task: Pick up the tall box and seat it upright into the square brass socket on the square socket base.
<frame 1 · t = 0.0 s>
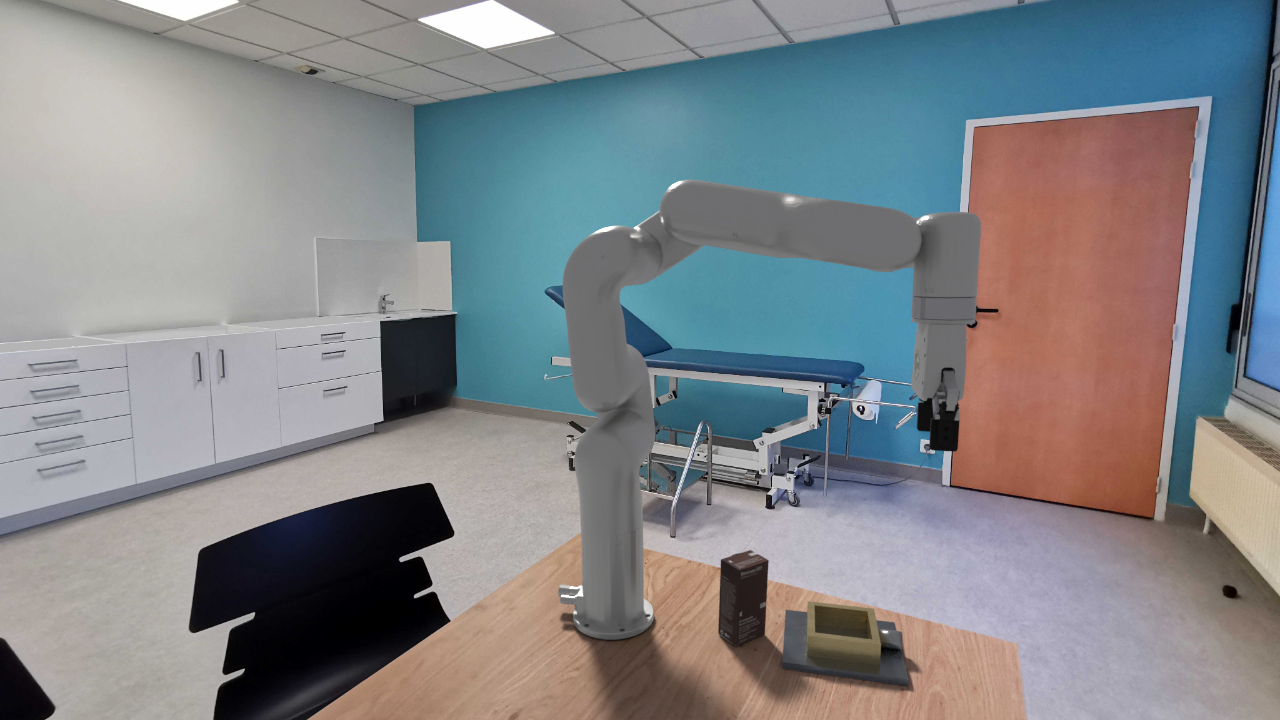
hand: (935, 440, 86), 31 cm above the table, tool pointing down, fingers open, 9 cm apart
square socket base: (841, 647, 94), on the table
box: (742, 636, 97), on the table
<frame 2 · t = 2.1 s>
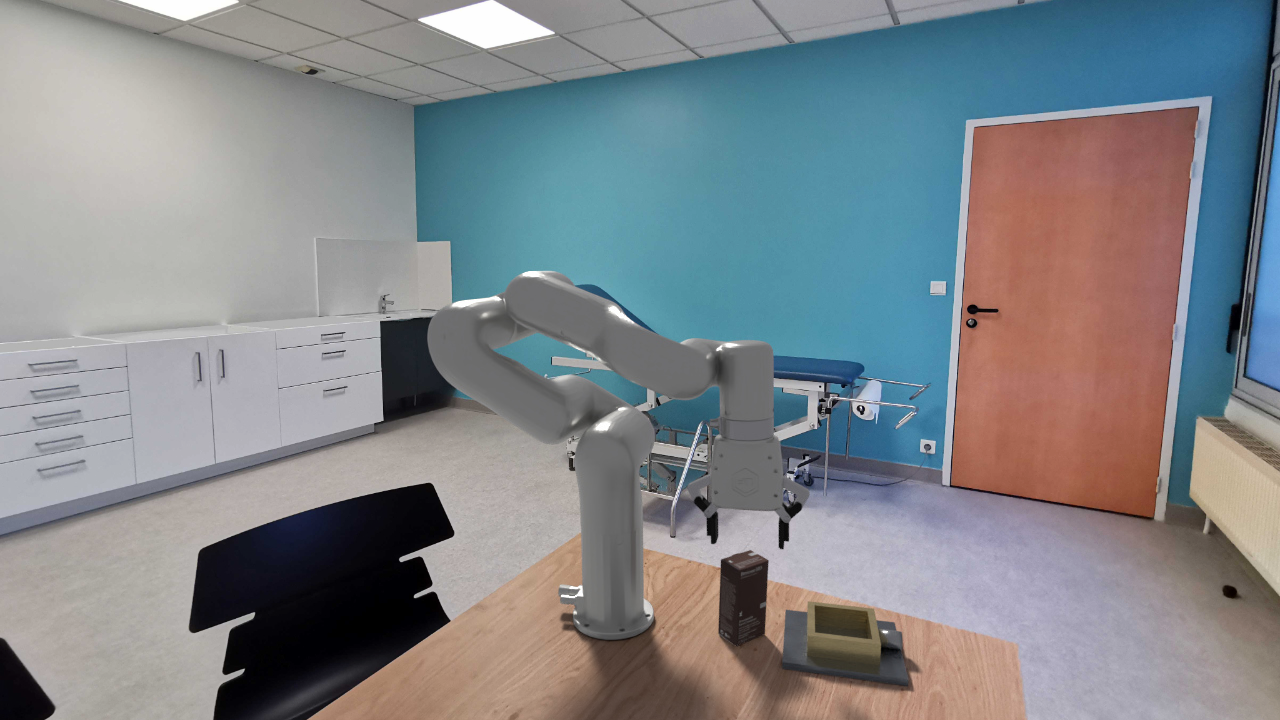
hand: (747, 542, 95), 14 cm above the table, tool pointing down, fingers open, 9 cm apart
nothing on the table moved.
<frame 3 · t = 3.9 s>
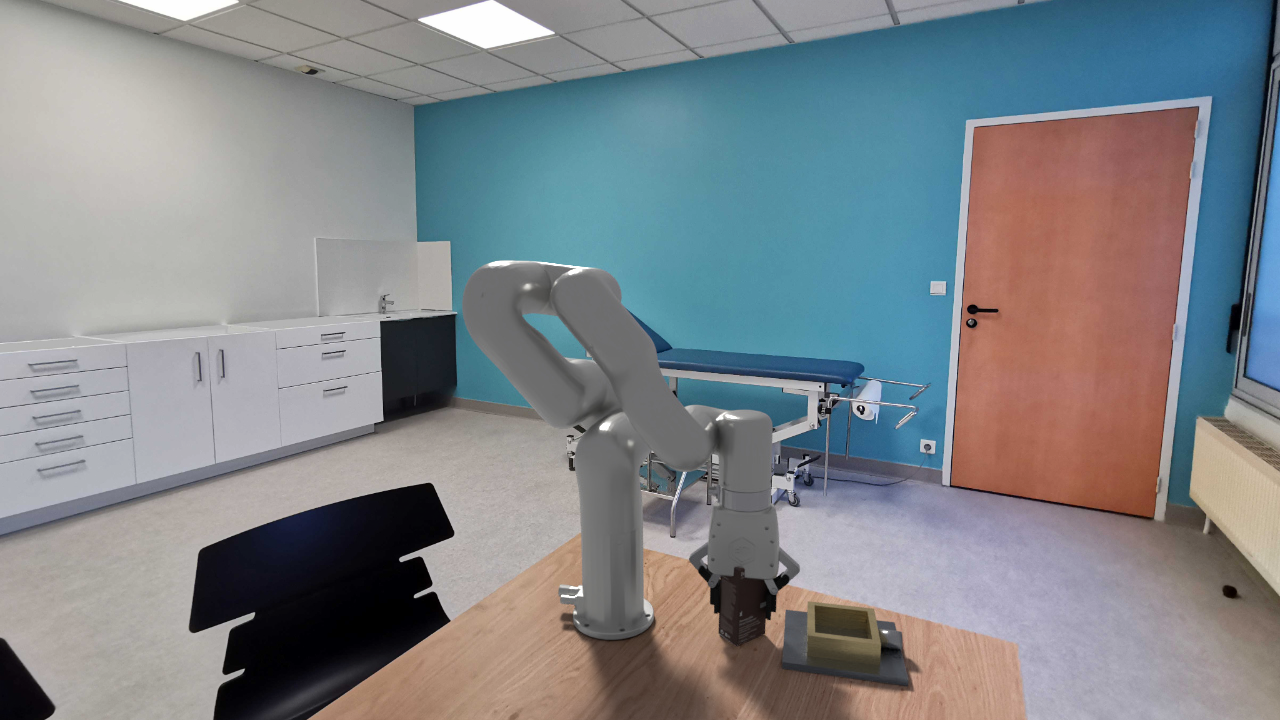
hand: (743, 611, 96), 4 cm above the table, tool pointing down, fingers closed on box, 6 cm apart
box: (742, 636, 97), on the table, touching gripper
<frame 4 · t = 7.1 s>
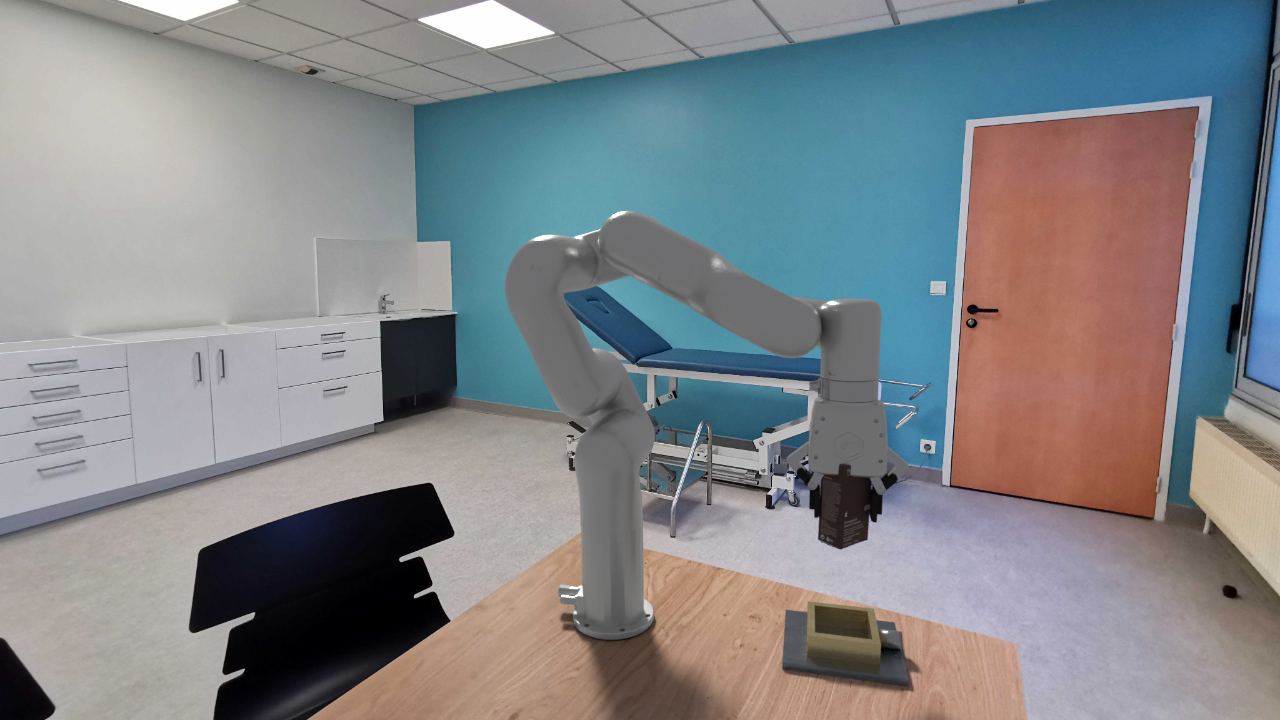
hand: (844, 515, 91), 20 cm above the table, tool pointing down, fingers closed on box, 6 cm apart
box: (843, 542, 91), point 16 cm above the table, touching gripper
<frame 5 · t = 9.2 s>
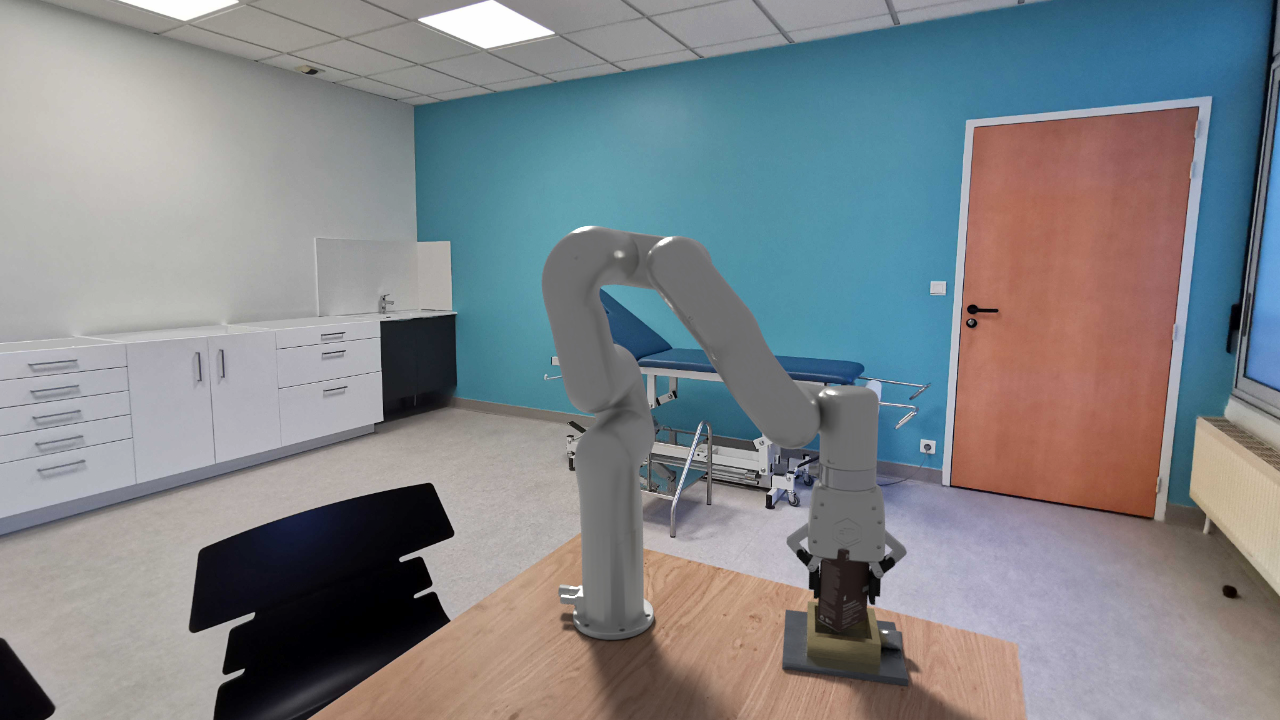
hand: (843, 596, 92), 8 cm above the table, tool pointing down, fingers closed on box, 6 cm apart
box: (842, 622, 93), point 4 cm above the table, touching gripper
when the fingers open (6 cm above the table, at t = 10.6 s): box drops 1 cm, resting on square socket base.
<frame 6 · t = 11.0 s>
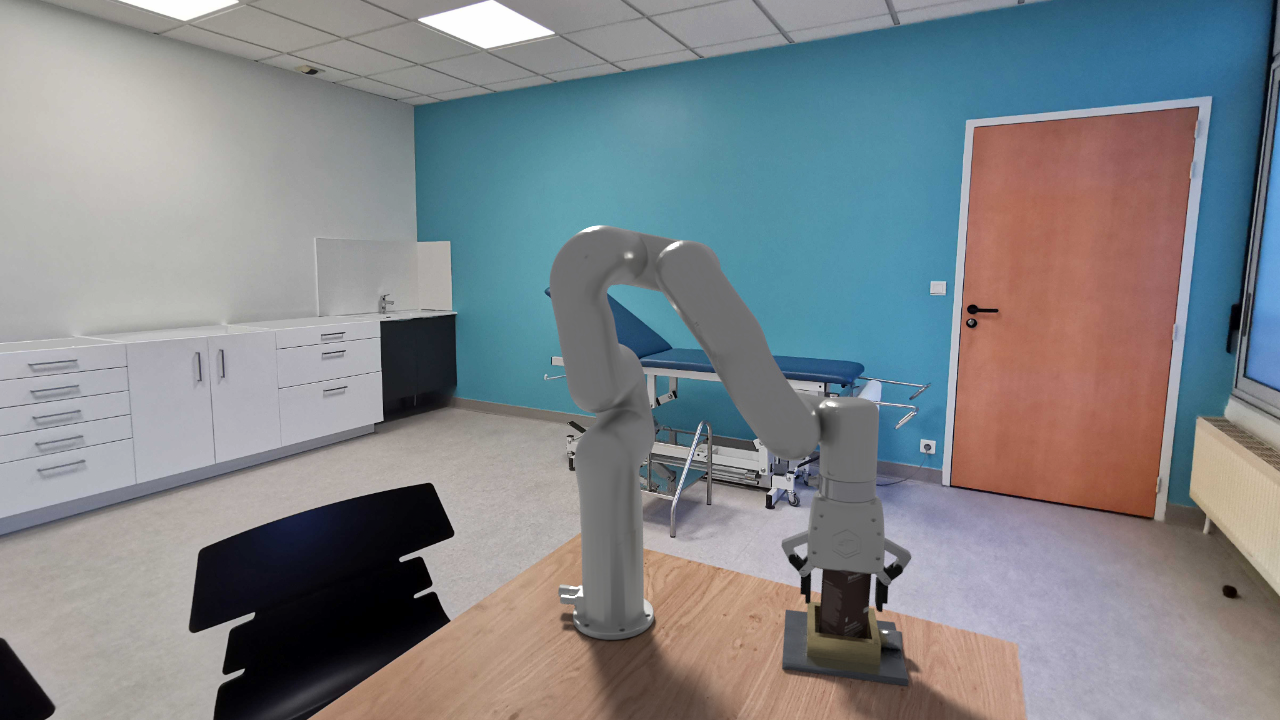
hand: (842, 603, 93), 7 cm above the table, tool pointing down, fingers open, 9 cm apart
box: (843, 642, 93), point 1 cm above the table, touching square socket base
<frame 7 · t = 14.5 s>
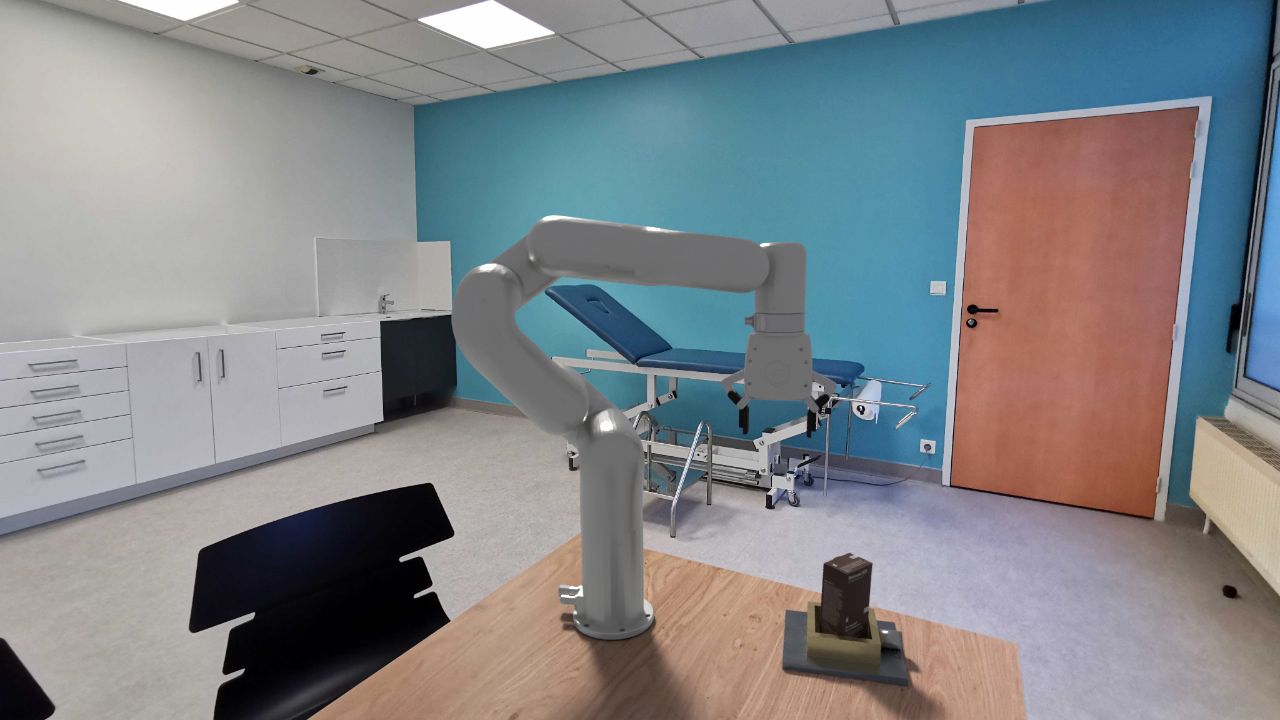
hand: (777, 434, 102), 28 cm above the table, tool pointing down, fingers open, 9 cm apart
nothing on the table moved.
at the end: box 0.4 cm off-centre on the square socket base, point 0.8 cm above the square socket base's base; box tilted 0°; the gripper is holding nothing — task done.
